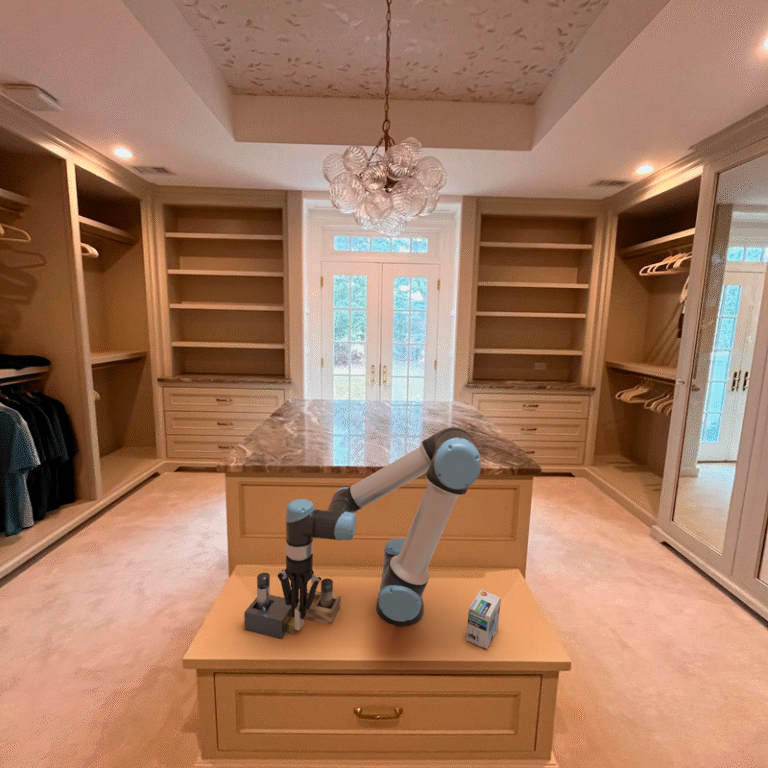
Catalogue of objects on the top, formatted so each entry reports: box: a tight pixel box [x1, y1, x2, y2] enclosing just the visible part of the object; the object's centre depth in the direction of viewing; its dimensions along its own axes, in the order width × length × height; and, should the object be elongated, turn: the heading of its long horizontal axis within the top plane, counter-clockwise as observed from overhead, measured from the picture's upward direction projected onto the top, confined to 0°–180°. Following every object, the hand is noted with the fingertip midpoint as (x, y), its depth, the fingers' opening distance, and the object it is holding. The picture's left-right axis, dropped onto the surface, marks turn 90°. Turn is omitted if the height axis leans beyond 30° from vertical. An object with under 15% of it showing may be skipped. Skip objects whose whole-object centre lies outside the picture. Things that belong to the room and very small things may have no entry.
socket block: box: [243, 594, 295, 640], centre depth 126 cm, size 12×9×6 cm
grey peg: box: [256, 572, 271, 611], centre depth 126 cm, size 4×4×12 cm
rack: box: [298, 578, 342, 626], centre depth 132 cm, size 12×8×11 cm, turn 76°
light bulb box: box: [465, 589, 502, 649], centre depth 126 cm, size 11×7×11 cm, turn 148°
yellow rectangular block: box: [285, 617, 297, 635], centre depth 126 cm, size 11×4×3 cm, turn 76°
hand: (298, 626), depth 125 cm, fingers closed
